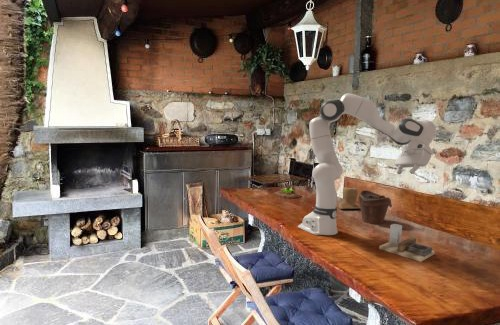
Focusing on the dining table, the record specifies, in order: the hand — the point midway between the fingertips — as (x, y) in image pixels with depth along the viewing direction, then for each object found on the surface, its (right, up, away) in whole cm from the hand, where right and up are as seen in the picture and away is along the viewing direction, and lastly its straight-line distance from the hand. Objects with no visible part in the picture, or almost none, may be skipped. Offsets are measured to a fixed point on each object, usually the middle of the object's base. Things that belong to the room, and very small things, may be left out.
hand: (404, 173), depth 177 cm
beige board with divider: (-1, -37, -5) cm, 38 cm away
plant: (-47, -22, +112) cm, 124 cm away
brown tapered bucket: (0, -31, +46) cm, 56 cm away
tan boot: (-7, -27, +77) cm, 82 cm away
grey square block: (-5, -35, 0) cm, 36 cm away
